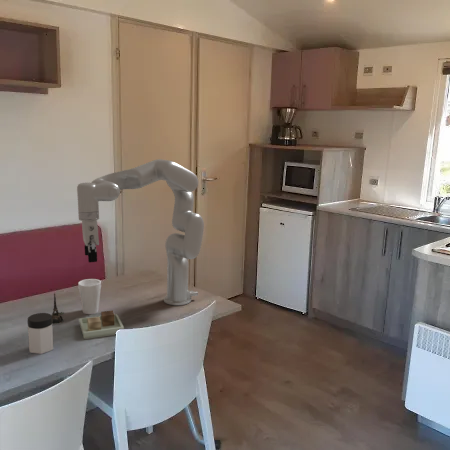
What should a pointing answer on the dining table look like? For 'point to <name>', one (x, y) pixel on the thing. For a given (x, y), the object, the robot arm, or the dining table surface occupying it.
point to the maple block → (94, 324)
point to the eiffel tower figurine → (56, 316)
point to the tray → (104, 330)
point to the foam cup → (89, 295)
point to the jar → (40, 333)
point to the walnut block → (107, 318)
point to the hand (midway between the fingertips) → (90, 258)
